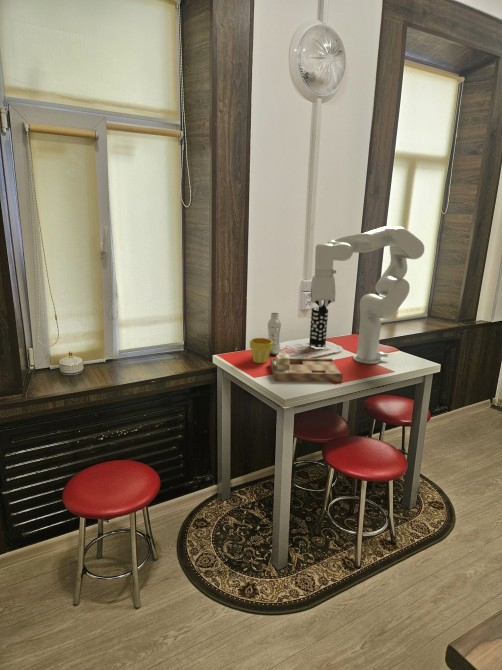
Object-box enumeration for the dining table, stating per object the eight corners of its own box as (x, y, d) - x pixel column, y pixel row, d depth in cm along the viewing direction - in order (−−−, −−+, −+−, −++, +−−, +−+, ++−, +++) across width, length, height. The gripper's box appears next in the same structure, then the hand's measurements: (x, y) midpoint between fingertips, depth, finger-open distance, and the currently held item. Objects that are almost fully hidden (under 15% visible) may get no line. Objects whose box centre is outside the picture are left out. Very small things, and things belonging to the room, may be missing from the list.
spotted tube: (307, 344, 229) (309, 307, 223) (322, 344, 230) (325, 307, 224) (311, 349, 221) (313, 311, 215) (327, 349, 222) (330, 311, 216)
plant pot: (272, 358, 207) (273, 338, 204) (270, 365, 197) (271, 344, 194) (250, 356, 208) (251, 336, 205) (248, 363, 198) (248, 343, 195)
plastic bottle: (270, 356, 209) (272, 315, 204) (264, 352, 215) (265, 312, 210) (282, 354, 212) (284, 314, 206) (275, 350, 218) (277, 311, 212)
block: (287, 365, 190) (287, 354, 189) (289, 369, 186) (289, 358, 184) (275, 365, 190) (276, 354, 188) (277, 369, 185) (278, 358, 184)
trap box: (331, 365, 199) (332, 358, 198) (342, 381, 181) (342, 373, 180) (270, 365, 197) (270, 357, 196) (274, 380, 179) (275, 373, 178)
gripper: (338, 271, 189) (336, 312, 194) (304, 272, 188) (303, 313, 193) (343, 274, 182) (341, 317, 187) (308, 275, 181) (307, 318, 186)
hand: (322, 315), depth 190 cm, fingers closed
